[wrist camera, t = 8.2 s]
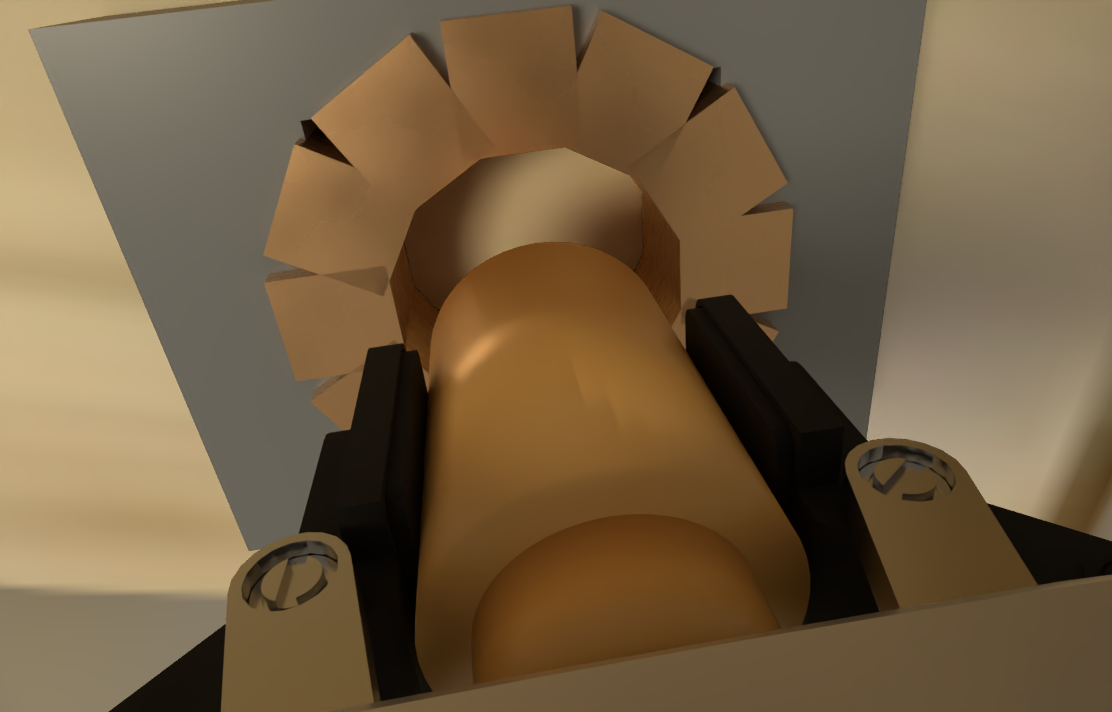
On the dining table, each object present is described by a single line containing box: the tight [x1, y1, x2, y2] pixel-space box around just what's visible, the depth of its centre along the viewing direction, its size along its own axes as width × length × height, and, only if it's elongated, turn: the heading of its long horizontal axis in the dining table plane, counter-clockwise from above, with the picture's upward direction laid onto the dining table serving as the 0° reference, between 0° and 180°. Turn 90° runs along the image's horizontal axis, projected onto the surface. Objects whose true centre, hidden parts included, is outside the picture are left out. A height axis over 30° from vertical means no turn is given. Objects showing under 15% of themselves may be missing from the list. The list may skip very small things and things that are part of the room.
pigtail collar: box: [263, 4, 793, 430], centre depth 17 cm, size 11×11×4 cm
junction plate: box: [28, 0, 927, 551], centre depth 17 cm, size 16×12×3 cm
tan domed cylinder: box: [415, 242, 810, 692], centre depth 10 cm, size 4×4×8 cm
